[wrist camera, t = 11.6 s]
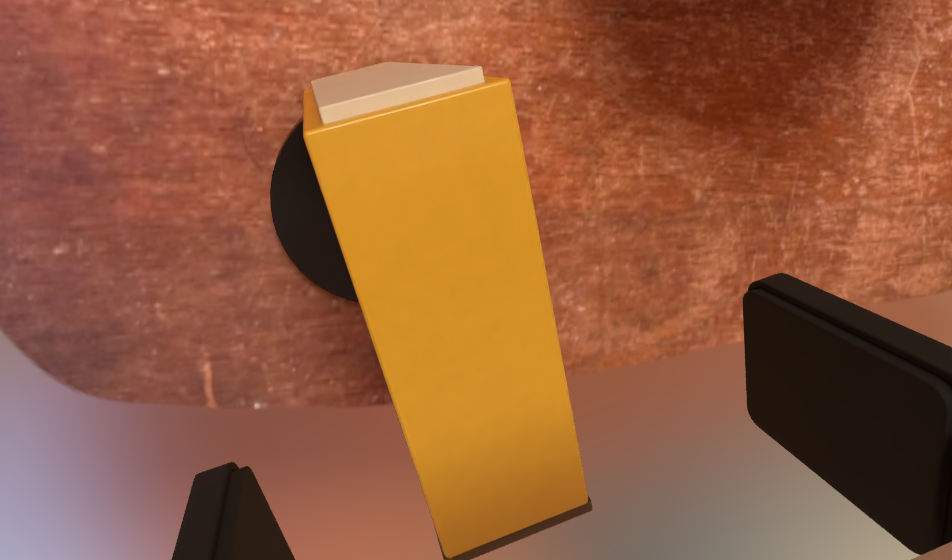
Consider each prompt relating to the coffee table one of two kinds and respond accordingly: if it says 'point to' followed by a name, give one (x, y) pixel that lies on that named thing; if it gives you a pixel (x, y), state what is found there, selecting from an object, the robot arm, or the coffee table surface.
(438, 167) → the yellow book
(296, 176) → the black disc
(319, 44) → the coffee table surface
